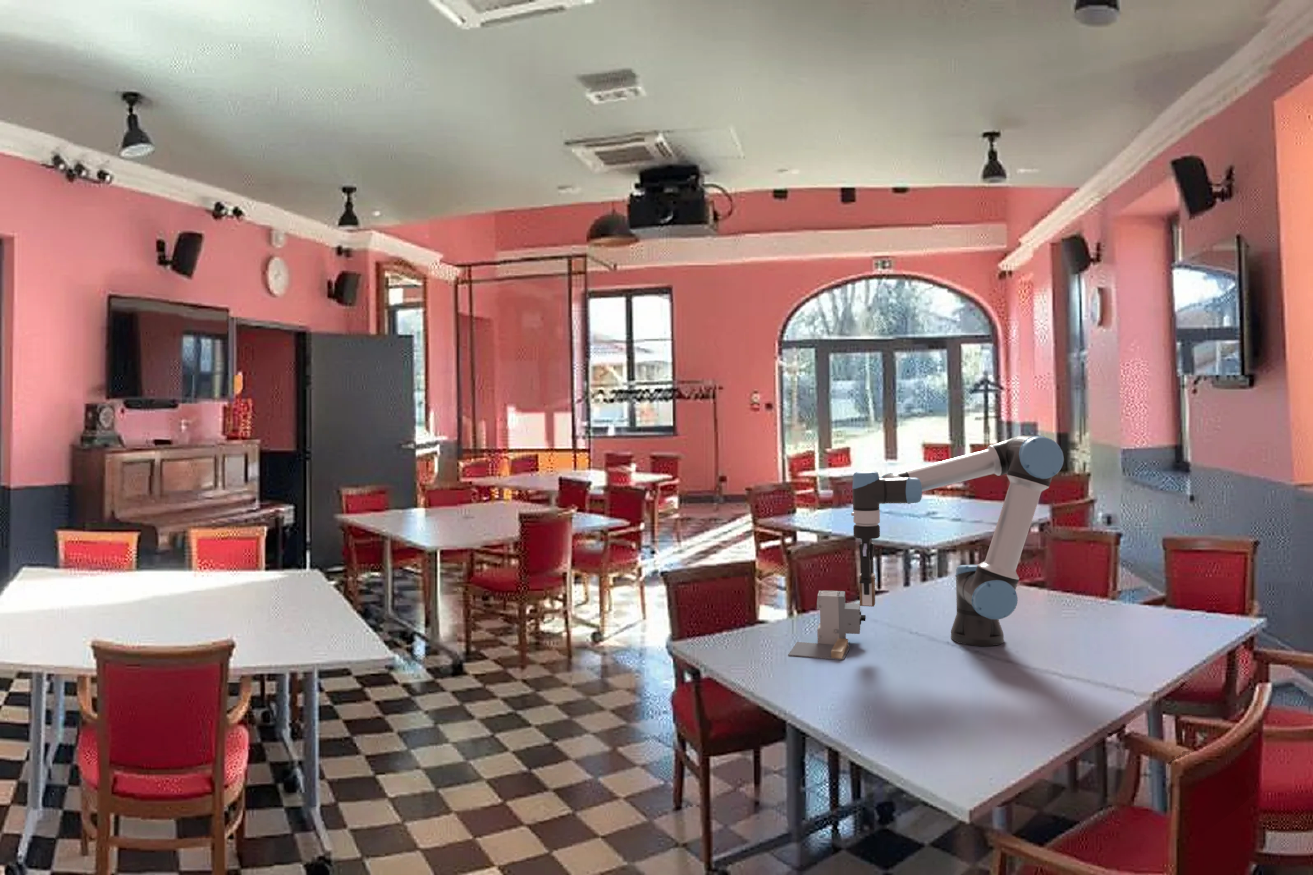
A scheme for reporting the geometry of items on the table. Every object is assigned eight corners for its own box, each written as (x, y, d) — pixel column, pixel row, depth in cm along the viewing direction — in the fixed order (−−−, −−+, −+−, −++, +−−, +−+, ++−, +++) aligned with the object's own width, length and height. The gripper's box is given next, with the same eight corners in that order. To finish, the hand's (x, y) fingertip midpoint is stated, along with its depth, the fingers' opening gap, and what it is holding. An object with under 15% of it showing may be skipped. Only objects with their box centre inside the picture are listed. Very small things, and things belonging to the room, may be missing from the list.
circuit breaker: (865, 646, 254) (864, 597, 253) (817, 644, 258) (816, 595, 257) (866, 640, 261) (865, 591, 261) (819, 637, 265) (818, 590, 264)
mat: (849, 647, 254) (849, 645, 254) (843, 660, 241) (843, 658, 241) (797, 643, 259) (797, 641, 259) (788, 655, 246) (788, 654, 246)
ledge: (848, 645, 254) (848, 639, 254) (841, 658, 241) (841, 651, 241) (838, 644, 255) (838, 638, 255) (831, 657, 242) (831, 650, 242)
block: (875, 603, 249) (874, 573, 249) (873, 606, 245) (873, 575, 245) (861, 602, 250) (861, 572, 250) (859, 605, 246) (859, 575, 246)
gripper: (856, 520, 256) (858, 596, 257) (849, 527, 240) (851, 609, 241) (882, 520, 254) (883, 597, 254) (876, 528, 238) (878, 610, 238)
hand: (868, 603), depth 248 cm, fingers closed on block, 4 cm apart
